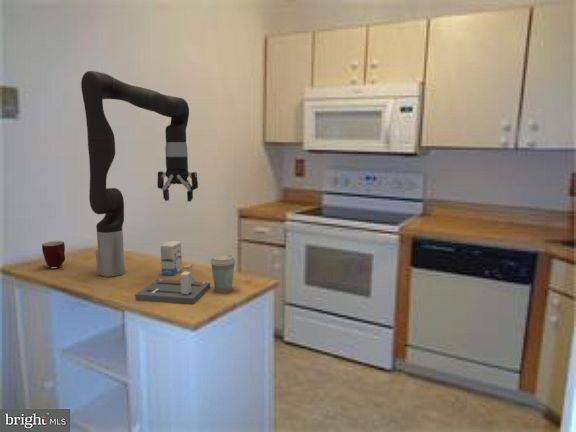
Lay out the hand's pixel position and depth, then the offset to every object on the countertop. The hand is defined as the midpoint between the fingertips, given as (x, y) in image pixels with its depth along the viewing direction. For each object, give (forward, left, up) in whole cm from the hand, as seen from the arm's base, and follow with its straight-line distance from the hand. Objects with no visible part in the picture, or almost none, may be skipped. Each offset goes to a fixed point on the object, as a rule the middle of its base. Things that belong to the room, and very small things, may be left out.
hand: (178, 200), depth 159 cm
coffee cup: (+18, -6, -30) cm, 36 cm away
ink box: (-8, +10, -30) cm, 33 cm away
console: (+3, -13, -30) cm, 33 cm away
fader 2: (+9, -17, -28) cm, 34 cm away
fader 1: (+6, -9, -28) cm, 30 cm away
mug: (-56, +7, -30) cm, 64 cm away
